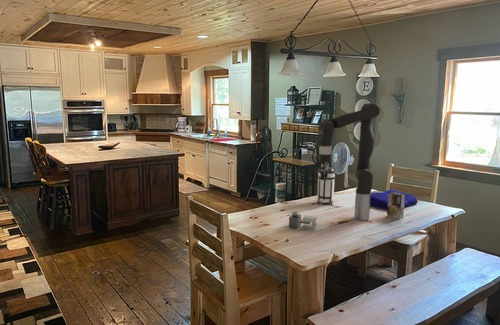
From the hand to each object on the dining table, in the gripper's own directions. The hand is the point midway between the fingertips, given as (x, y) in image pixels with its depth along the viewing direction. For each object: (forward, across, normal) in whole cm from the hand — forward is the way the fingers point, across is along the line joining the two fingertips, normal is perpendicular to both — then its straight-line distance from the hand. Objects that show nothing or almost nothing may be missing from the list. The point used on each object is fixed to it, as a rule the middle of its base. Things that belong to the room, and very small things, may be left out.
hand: (324, 178), depth 237 cm
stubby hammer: (+28, -18, +9) cm, 35 cm away
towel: (+29, +64, -36) cm, 79 cm away
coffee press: (+28, +43, +8) cm, 52 cm away
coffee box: (+28, +32, -42) cm, 60 cm away
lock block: (+28, -18, +4) cm, 34 cm away
